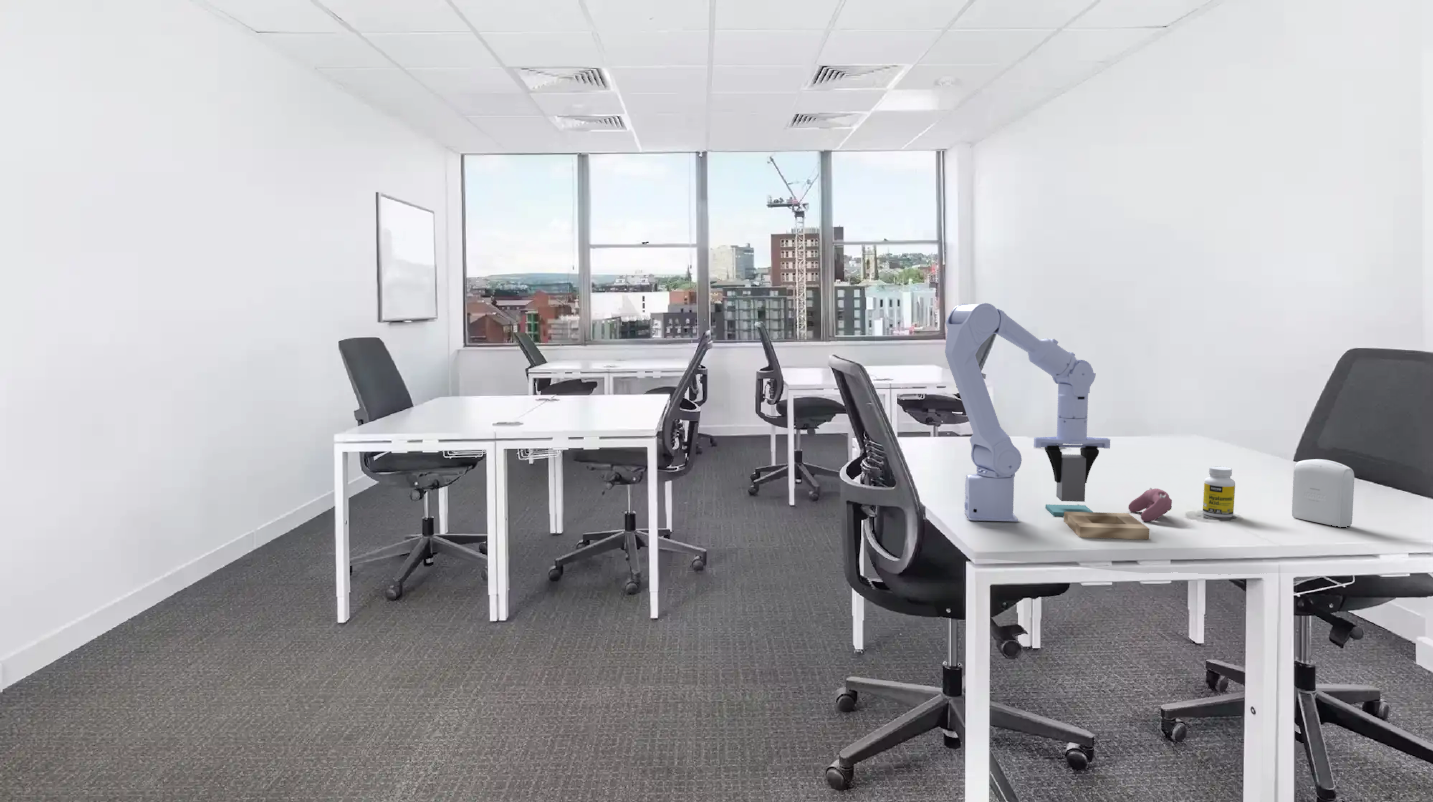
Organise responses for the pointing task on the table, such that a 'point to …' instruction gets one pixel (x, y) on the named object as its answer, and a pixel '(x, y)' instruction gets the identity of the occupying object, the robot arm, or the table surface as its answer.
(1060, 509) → the rubber mat
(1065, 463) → the plug
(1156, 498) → the video game controller
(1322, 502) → the photo printer
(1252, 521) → the table surface
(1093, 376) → the robot arm
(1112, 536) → the square wooden frame
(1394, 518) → the table surface
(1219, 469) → the supplement bottle
